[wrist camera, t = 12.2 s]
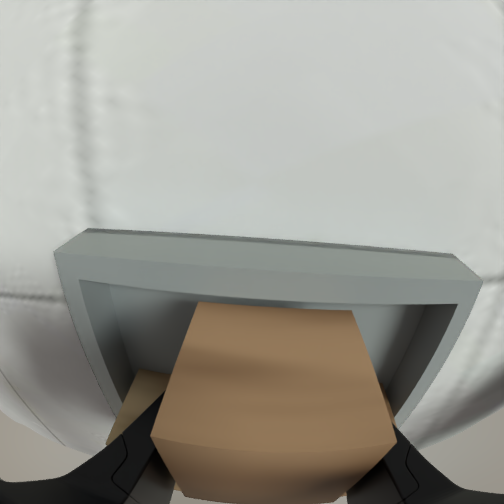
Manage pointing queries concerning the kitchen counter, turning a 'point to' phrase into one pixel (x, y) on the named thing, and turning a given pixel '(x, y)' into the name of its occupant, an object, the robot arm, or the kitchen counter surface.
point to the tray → (260, 299)
